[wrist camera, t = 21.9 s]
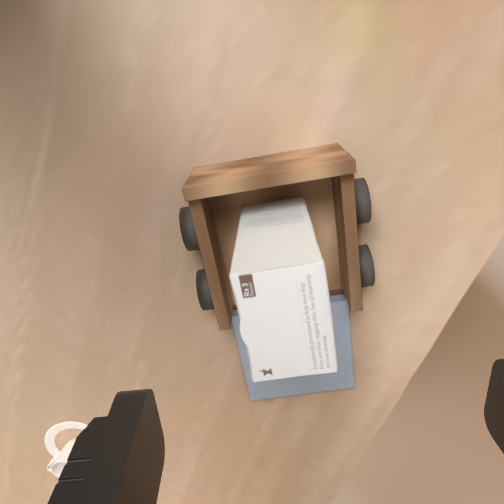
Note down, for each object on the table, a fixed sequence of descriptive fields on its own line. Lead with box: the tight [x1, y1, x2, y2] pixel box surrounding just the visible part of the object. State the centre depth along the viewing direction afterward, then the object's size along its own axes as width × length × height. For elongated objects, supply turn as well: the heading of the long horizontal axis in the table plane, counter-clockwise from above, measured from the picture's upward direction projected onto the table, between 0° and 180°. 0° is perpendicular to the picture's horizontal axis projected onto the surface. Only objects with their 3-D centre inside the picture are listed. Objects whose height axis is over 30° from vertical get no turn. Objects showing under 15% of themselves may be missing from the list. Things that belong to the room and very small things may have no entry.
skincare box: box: [229, 196, 338, 383], centre depth 31 cm, size 8×6×15 cm
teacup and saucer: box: [45, 422, 87, 478], centre depth 50 cm, size 9×8×4 cm
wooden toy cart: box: [179, 143, 375, 331], centre depth 36 cm, size 16×14×7 cm
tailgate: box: [232, 294, 355, 401], centre depth 44 cm, size 12×1×12 cm
